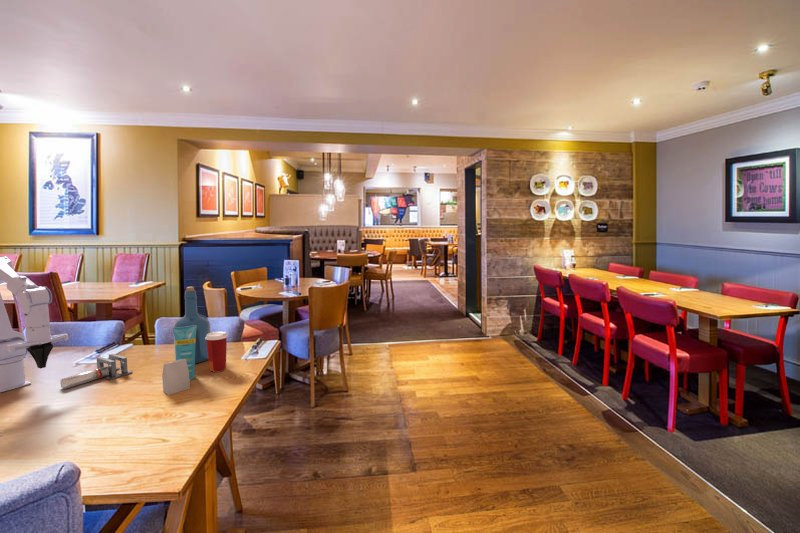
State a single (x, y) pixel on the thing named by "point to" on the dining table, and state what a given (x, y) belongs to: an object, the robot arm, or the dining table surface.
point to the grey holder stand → (110, 367)
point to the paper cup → (216, 350)
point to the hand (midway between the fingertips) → (41, 367)
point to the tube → (186, 346)
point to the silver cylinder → (84, 377)
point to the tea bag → (175, 376)
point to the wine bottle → (195, 319)
